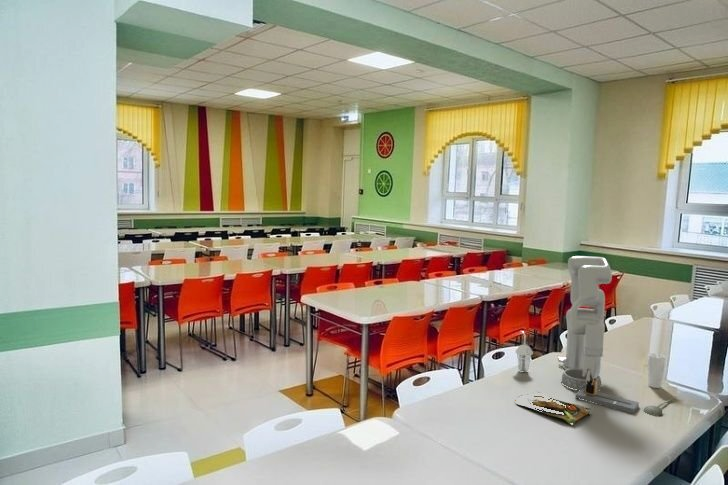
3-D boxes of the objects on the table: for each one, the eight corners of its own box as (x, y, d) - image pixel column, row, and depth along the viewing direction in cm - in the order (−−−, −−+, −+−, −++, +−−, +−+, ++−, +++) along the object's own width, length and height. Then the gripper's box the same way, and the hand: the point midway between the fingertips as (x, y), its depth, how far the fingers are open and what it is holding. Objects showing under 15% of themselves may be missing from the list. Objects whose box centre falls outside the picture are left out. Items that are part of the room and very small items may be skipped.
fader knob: (585, 393, 219) (585, 380, 219) (587, 391, 222) (588, 378, 221) (594, 395, 217) (595, 382, 216) (596, 393, 219) (597, 380, 218)
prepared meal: (510, 395, 213) (534, 385, 224) (510, 403, 214) (534, 392, 225) (572, 421, 192) (595, 409, 203) (571, 430, 192) (595, 417, 203)
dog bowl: (601, 381, 240) (601, 371, 240) (601, 395, 224) (601, 383, 223) (563, 376, 247) (563, 365, 247) (560, 388, 231) (560, 377, 230)
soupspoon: (640, 414, 206) (657, 421, 201) (640, 407, 206) (658, 413, 201) (662, 399, 220) (679, 405, 215) (663, 392, 219) (679, 398, 214)
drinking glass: (665, 389, 230) (667, 358, 229) (649, 388, 231) (651, 357, 230) (659, 384, 237) (662, 353, 235) (644, 383, 238) (646, 352, 237)
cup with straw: (513, 373, 250) (515, 334, 248) (515, 367, 258) (517, 329, 256) (531, 375, 247) (533, 336, 245) (532, 369, 255) (534, 331, 253)
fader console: (575, 398, 219) (575, 393, 219) (582, 392, 226) (582, 387, 226) (633, 413, 204) (633, 408, 204) (638, 406, 211) (638, 401, 211)
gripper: (590, 345, 226) (587, 384, 228) (578, 353, 214) (576, 395, 215) (607, 348, 221) (605, 388, 223) (596, 357, 209) (594, 399, 210)
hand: (591, 391), depth 219 cm, fingers closed on fader knob, 3 cm apart
